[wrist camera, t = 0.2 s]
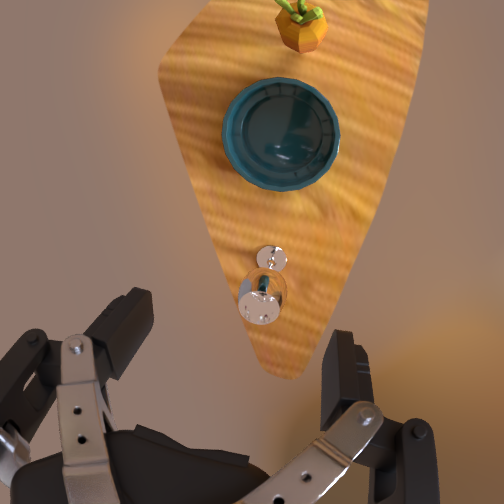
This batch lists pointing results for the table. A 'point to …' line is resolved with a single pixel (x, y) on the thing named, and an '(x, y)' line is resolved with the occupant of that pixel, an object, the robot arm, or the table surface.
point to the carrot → (301, 25)
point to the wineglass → (264, 287)
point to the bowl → (281, 134)
